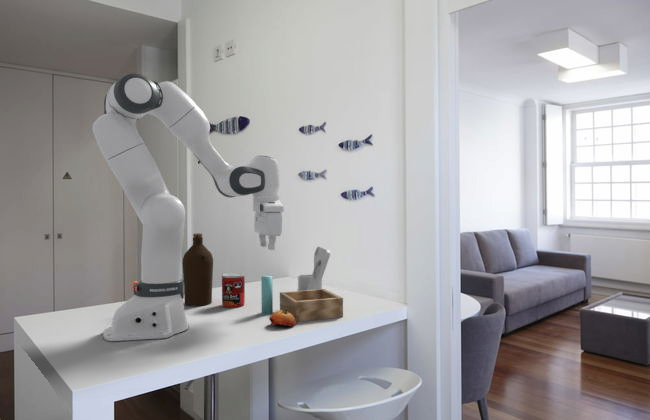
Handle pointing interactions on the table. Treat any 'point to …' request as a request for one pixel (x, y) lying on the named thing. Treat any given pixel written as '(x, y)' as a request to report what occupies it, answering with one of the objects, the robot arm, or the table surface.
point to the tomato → (282, 318)
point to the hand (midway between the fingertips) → (267, 248)
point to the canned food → (233, 290)
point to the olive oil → (197, 273)
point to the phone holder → (315, 271)
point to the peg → (267, 294)
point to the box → (312, 304)
